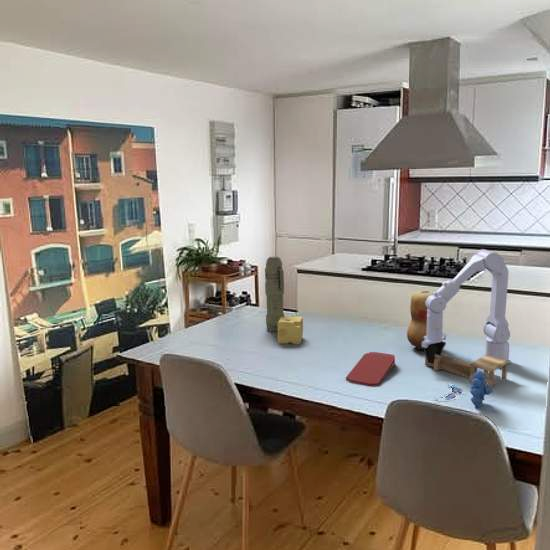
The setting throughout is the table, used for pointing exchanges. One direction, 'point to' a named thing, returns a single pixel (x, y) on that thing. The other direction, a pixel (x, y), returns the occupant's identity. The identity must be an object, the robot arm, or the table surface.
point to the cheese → (290, 330)
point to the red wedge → (371, 369)
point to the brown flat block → (496, 378)
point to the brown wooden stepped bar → (450, 365)
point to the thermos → (274, 292)
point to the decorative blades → (454, 389)
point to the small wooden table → (489, 367)
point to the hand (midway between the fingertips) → (433, 361)
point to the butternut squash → (418, 318)
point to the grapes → (479, 388)
